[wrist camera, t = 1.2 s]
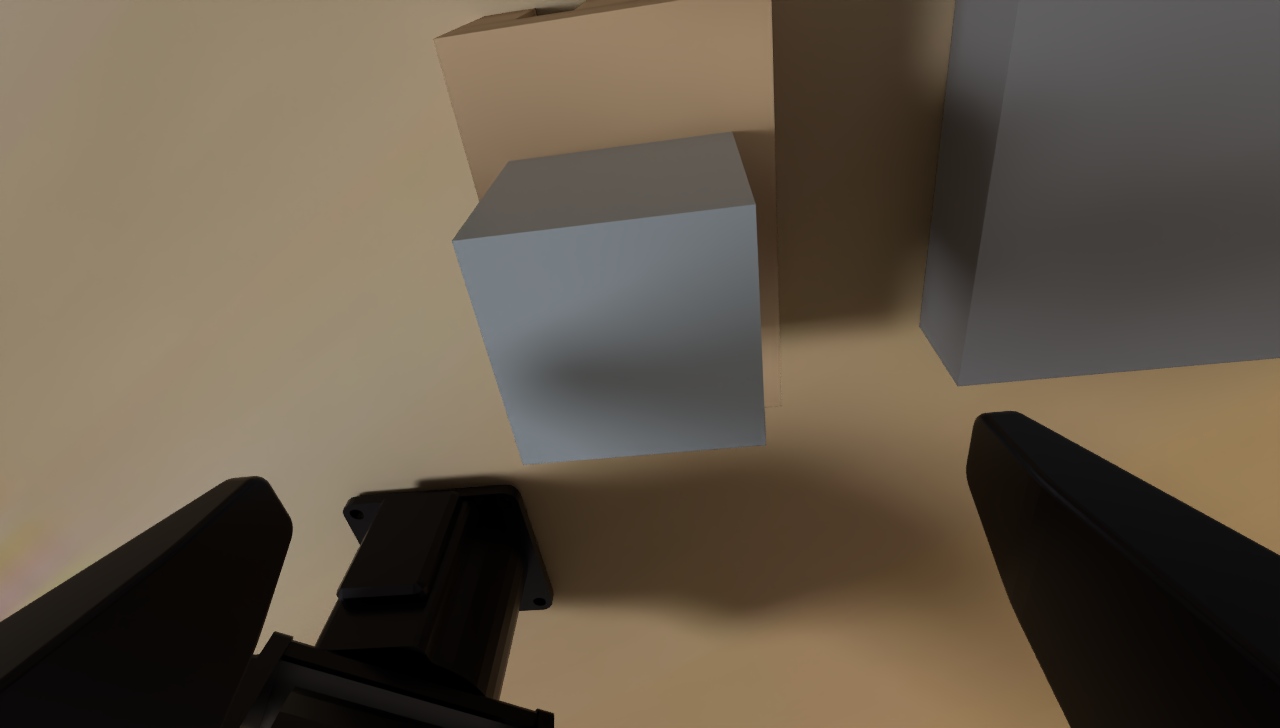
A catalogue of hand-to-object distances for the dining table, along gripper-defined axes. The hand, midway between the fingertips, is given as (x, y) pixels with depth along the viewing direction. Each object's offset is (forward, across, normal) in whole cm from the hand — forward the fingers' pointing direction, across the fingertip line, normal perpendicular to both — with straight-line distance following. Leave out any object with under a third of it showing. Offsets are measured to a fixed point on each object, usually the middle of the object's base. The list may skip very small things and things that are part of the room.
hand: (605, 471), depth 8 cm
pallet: (+11, 0, 0) cm, 11 cm away
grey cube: (+7, 0, 0) cm, 7 cm away
